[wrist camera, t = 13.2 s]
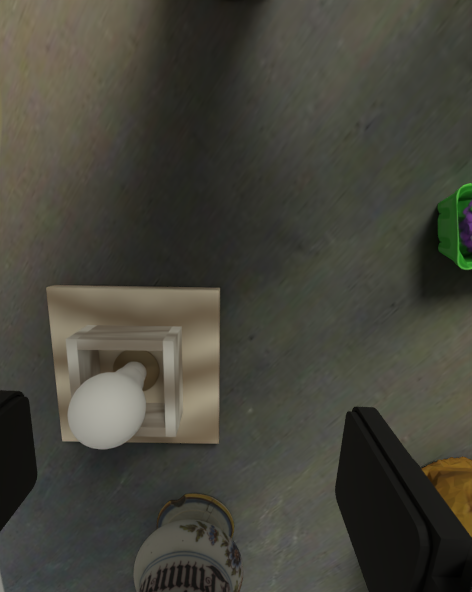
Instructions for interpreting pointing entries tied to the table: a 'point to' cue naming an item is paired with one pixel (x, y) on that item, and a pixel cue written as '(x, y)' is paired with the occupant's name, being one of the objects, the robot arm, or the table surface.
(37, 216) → the table surface
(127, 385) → the lightbulb
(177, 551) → the apothecary jar
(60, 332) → the socket
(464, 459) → the pitcher
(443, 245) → the fruit basket
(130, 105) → the table surface
